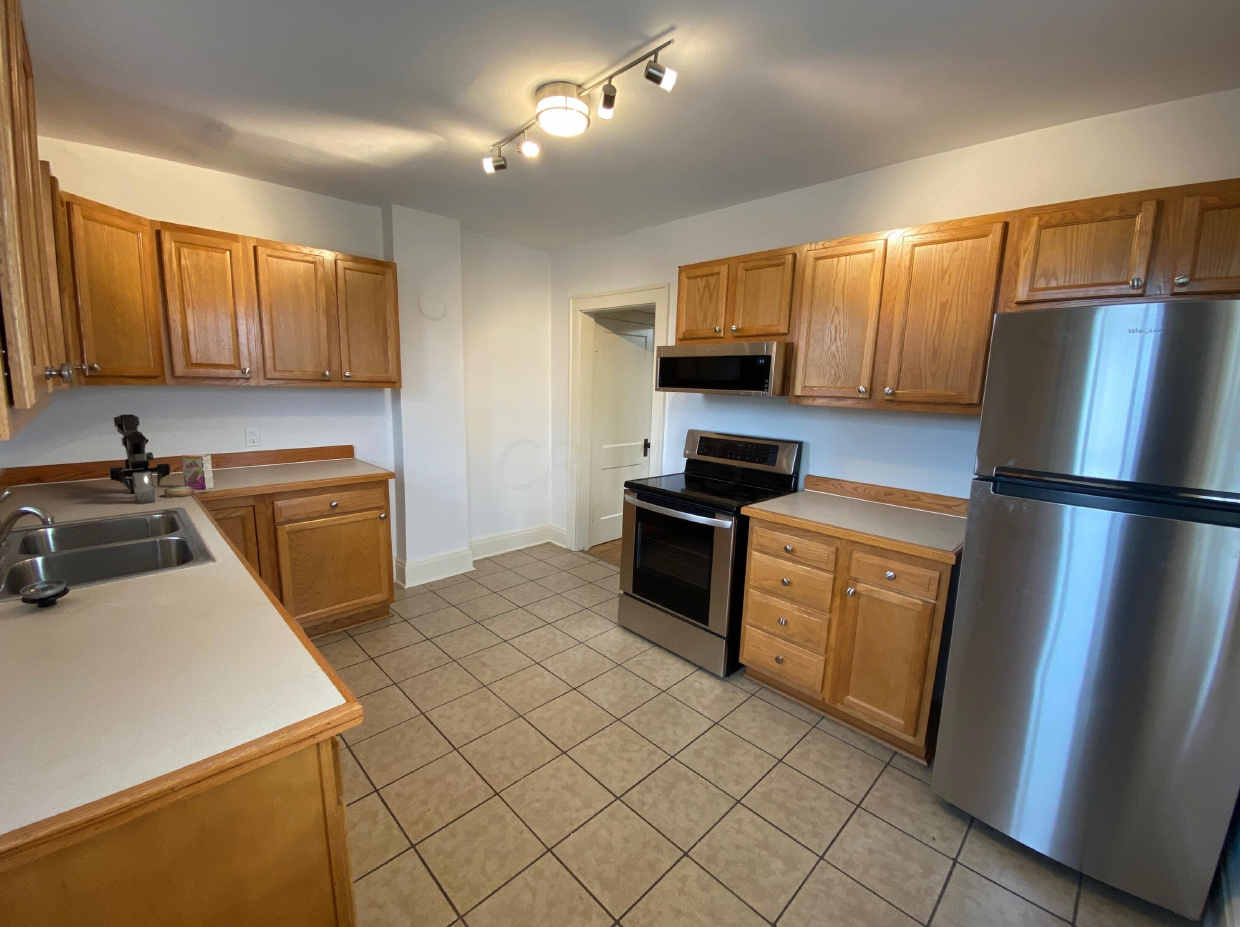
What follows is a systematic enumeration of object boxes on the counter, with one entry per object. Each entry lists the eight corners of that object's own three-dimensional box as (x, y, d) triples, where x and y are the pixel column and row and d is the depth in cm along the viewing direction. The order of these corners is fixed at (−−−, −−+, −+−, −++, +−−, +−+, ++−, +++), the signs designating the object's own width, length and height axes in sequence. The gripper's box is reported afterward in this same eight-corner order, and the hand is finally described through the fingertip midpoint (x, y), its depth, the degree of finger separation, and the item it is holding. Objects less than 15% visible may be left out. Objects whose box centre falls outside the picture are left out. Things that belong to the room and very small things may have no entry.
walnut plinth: (166, 494, 230) (165, 487, 229) (195, 492, 236) (194, 485, 235) (163, 498, 222) (162, 491, 221) (192, 496, 228) (191, 489, 227)
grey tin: (137, 501, 216) (133, 472, 214) (156, 500, 219) (152, 470, 217) (134, 504, 211) (130, 474, 209) (154, 503, 214) (150, 473, 212)
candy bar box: (184, 488, 242) (180, 455, 239) (194, 486, 246) (190, 453, 244) (205, 489, 241) (201, 456, 238) (215, 487, 245) (211, 454, 243)
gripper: (106, 448, 207) (112, 478, 202) (166, 444, 221) (173, 472, 215) (107, 464, 214) (113, 494, 208) (166, 460, 227) (172, 488, 222)
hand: (144, 486), depth 213 cm, fingers open, 9 cm apart
